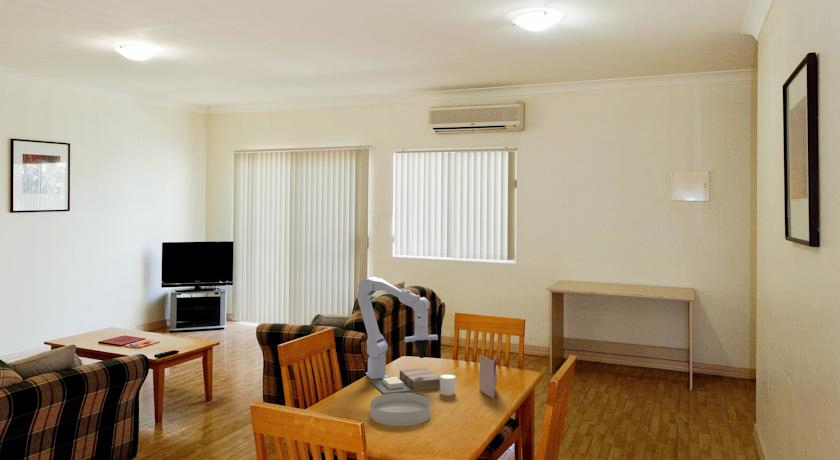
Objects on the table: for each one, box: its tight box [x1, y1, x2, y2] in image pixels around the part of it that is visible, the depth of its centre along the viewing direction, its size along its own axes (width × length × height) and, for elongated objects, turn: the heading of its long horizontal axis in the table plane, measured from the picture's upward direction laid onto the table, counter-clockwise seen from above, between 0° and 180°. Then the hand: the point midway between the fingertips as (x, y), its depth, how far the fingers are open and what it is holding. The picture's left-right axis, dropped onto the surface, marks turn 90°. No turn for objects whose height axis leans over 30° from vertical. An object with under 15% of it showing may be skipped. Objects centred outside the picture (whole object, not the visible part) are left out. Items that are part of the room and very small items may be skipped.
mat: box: [370, 377, 414, 395], centre depth 255 cm, size 18×12×1 cm
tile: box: [382, 376, 403, 389], centre depth 255 cm, size 9×6×2 cm, turn 21°
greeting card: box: [478, 354, 498, 399], centre depth 246 cm, size 11×7×15 cm, turn 168°
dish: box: [369, 392, 432, 427], centre depth 222 cm, size 22×22×5 cm
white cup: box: [438, 373, 457, 396], centre depth 247 cm, size 7×7×7 cm
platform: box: [399, 367, 440, 392], centre depth 259 cm, size 18×12×4 cm, turn 21°
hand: (421, 357), depth 262 cm, fingers closed
